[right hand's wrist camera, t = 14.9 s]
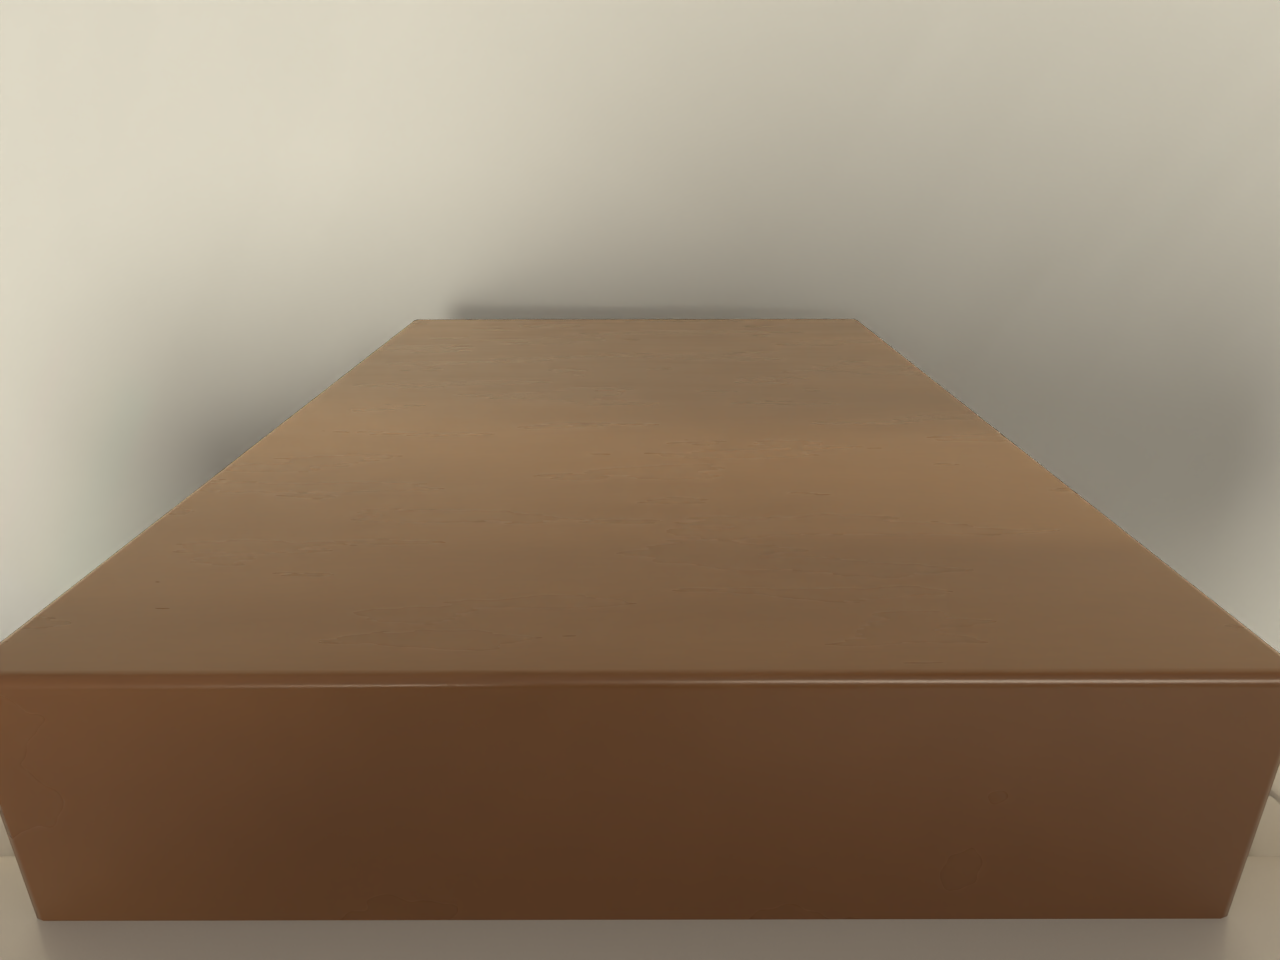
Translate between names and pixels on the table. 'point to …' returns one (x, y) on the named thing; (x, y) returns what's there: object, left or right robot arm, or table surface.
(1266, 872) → the right robot arm
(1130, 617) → the box
